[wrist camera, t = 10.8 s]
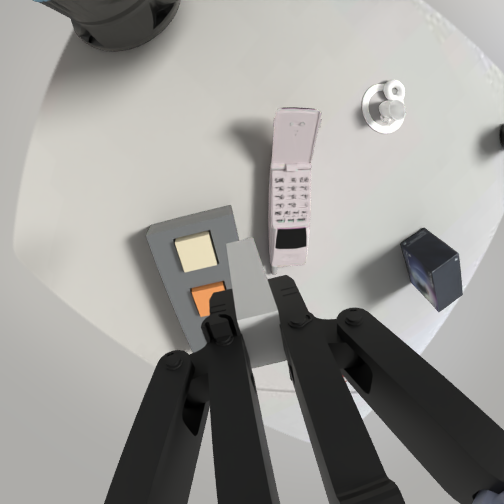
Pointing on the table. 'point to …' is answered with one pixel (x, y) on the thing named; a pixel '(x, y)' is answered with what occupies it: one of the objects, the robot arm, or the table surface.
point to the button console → (183, 282)
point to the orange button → (206, 296)
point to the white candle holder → (386, 106)
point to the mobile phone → (291, 185)
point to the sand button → (196, 251)
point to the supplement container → (502, 135)
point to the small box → (433, 268)
